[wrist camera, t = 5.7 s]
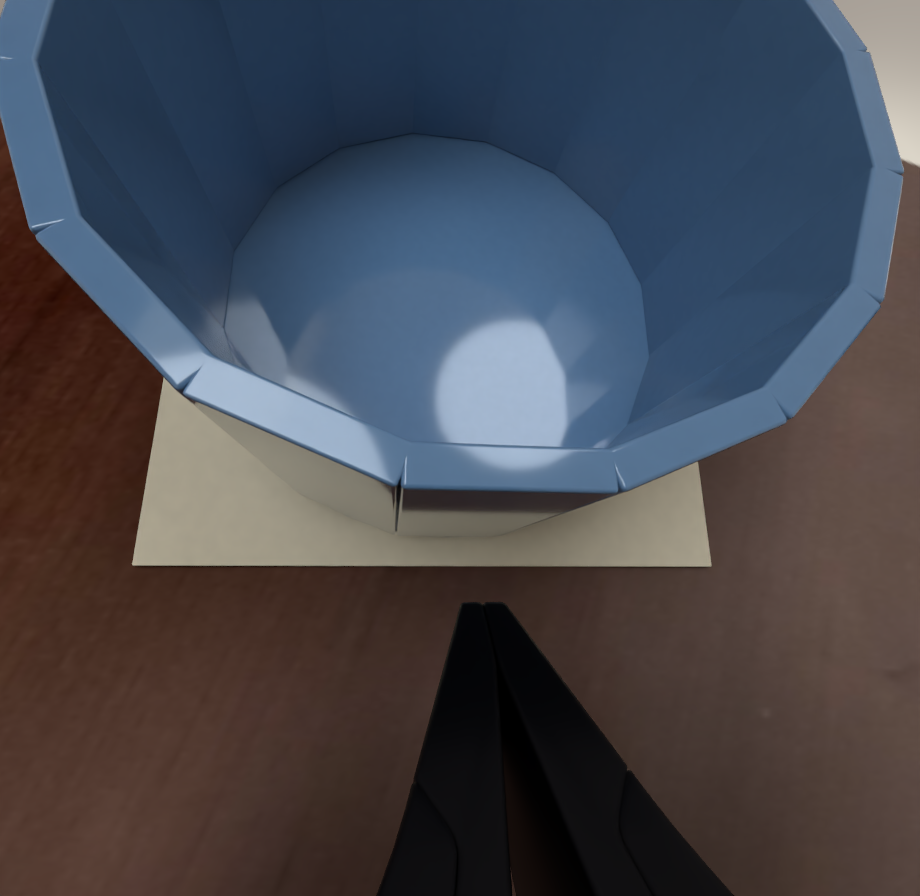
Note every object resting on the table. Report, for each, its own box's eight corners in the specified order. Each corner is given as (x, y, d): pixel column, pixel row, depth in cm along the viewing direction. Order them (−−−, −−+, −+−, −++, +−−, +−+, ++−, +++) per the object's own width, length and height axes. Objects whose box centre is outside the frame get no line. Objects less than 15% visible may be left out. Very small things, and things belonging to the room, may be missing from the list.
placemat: (708, 566, 17) (711, 566, 17) (135, 565, 15) (132, 565, 14) (650, 114, 22) (652, 110, 22) (220, 57, 20) (218, 52, 20)
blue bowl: (674, 540, 17) (1001, 502, 8) (181, 535, 15) (-156, 475, 6) (632, 163, 21) (813, -147, 12) (242, 117, 19) (104, -303, 10)
